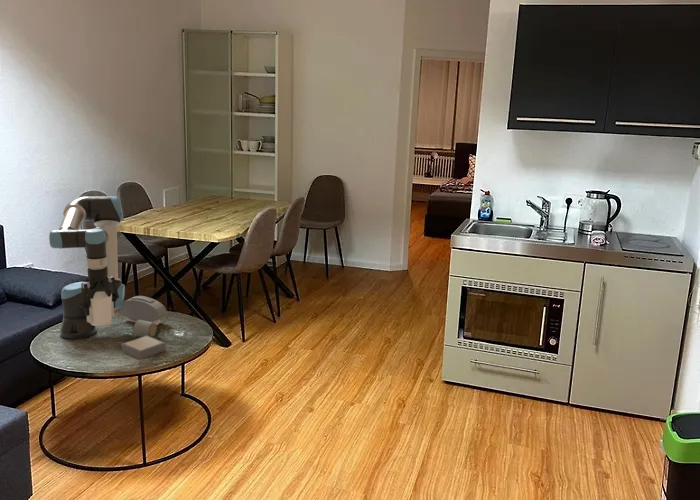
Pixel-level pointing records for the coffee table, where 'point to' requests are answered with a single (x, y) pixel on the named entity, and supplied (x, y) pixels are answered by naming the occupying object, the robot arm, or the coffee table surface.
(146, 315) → the alarm clock
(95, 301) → the candle holder
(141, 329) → the ceramic mug
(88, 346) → the coffee table surface
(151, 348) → the pedestal
